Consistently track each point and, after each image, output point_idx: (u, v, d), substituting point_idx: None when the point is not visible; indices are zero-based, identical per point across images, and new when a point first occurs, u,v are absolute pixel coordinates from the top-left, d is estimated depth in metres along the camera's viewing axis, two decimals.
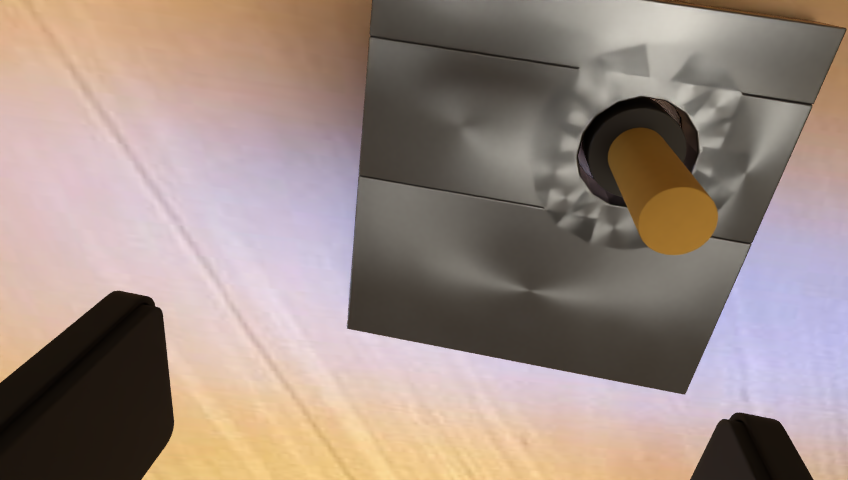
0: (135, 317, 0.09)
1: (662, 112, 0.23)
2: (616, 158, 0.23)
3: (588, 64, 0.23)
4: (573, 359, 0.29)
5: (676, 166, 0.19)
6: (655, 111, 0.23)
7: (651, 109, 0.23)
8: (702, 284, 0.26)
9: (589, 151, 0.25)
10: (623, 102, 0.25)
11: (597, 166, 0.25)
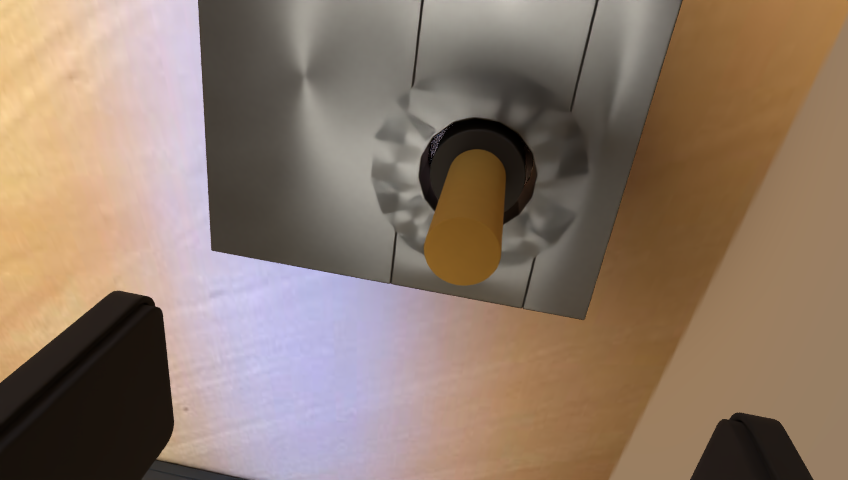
0: (135, 317, 0.09)
1: (519, 194, 0.24)
2: (484, 163, 0.22)
3: (573, 121, 0.22)
4: (223, 133, 0.25)
5: None
6: (521, 188, 0.24)
7: (523, 185, 0.24)
8: (342, 250, 0.26)
9: (479, 130, 0.23)
10: (523, 154, 0.24)
11: (463, 140, 0.23)
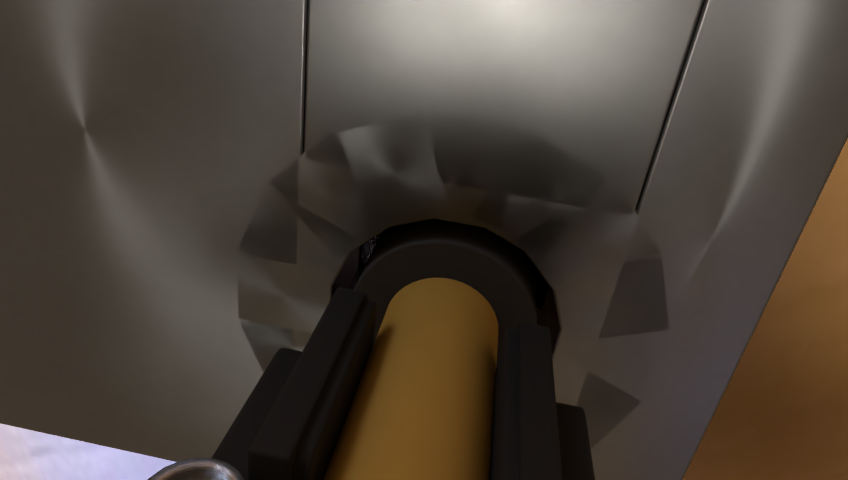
0: (365, 311, 0.10)
1: None
2: (450, 330, 0.10)
3: (642, 231, 0.10)
4: None
5: None
6: None
7: None
8: (203, 432, 0.15)
9: (445, 241, 0.11)
10: (533, 274, 0.13)
11: (412, 259, 0.11)
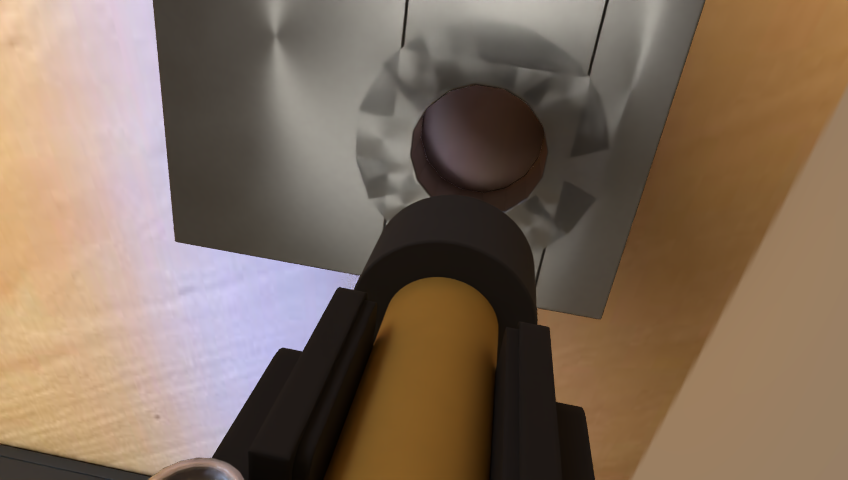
0: (365, 311, 0.10)
1: None
2: (450, 329, 0.10)
3: (592, 87, 0.19)
4: (183, 105, 0.21)
5: None
6: None
7: None
8: (323, 240, 0.23)
9: (445, 241, 0.11)
10: (533, 274, 0.13)
11: (412, 258, 0.11)
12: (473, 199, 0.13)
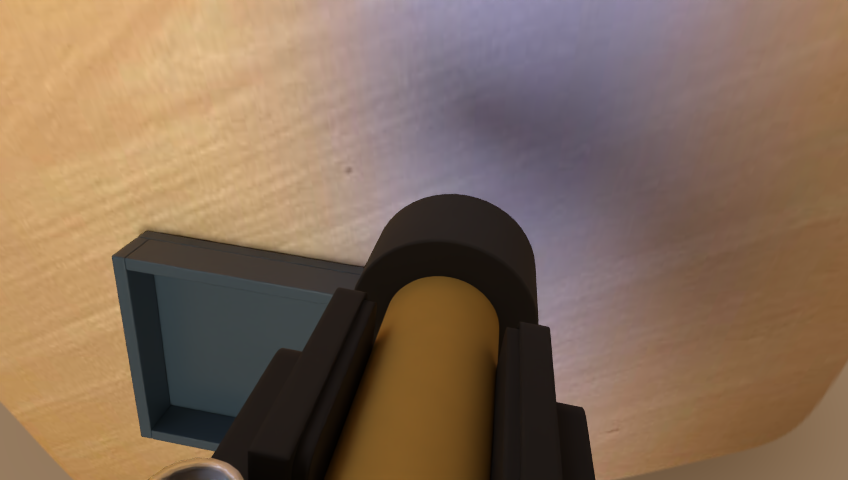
0: (365, 311, 0.10)
1: None
2: (451, 328, 0.10)
3: None
4: None
5: None
6: None
7: None
8: None
9: (445, 240, 0.11)
10: (534, 273, 0.13)
11: (413, 257, 0.11)
12: (474, 198, 0.13)
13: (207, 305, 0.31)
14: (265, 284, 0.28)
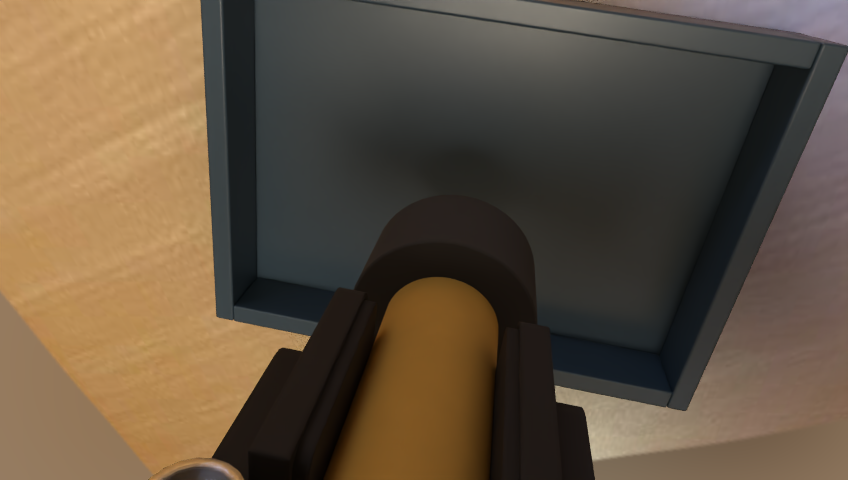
0: (365, 311, 0.10)
1: None
2: (449, 329, 0.10)
3: None
4: None
5: None
6: None
7: None
8: None
9: (445, 240, 0.11)
10: (533, 273, 0.13)
11: (412, 258, 0.11)
12: (473, 199, 0.13)
13: (340, 88, 0.19)
14: None
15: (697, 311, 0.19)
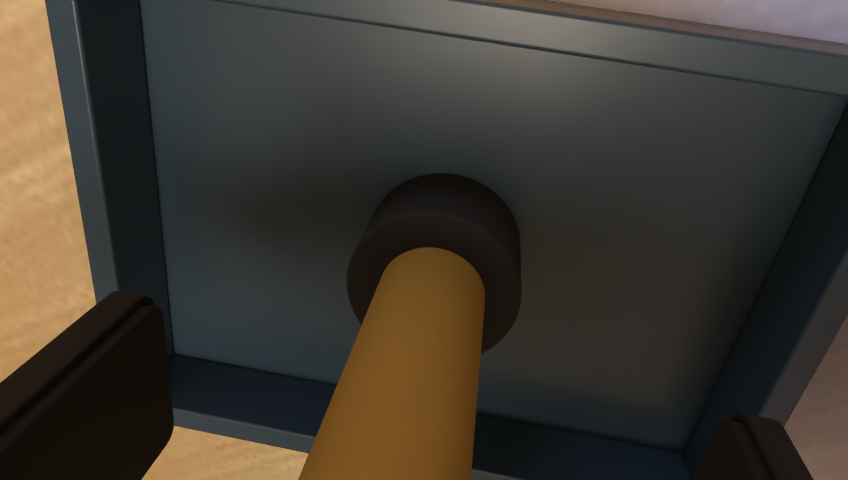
0: (135, 317, 0.09)
1: (511, 325, 0.13)
2: (439, 291, 0.11)
3: None
4: None
5: None
6: (514, 316, 0.13)
7: (518, 310, 0.13)
8: None
9: (434, 213, 0.12)
10: (518, 246, 0.14)
11: (404, 230, 0.12)
12: (462, 177, 0.14)
13: (262, 122, 0.14)
14: (442, 0, 0.10)
15: None
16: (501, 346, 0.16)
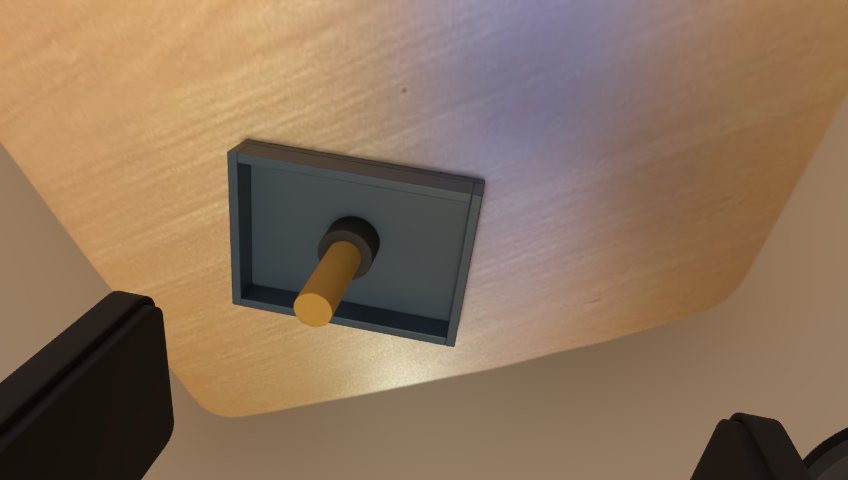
0: (135, 317, 0.09)
1: (370, 266, 0.40)
2: (341, 253, 0.38)
3: None
4: None
5: (341, 297, 0.36)
6: (371, 263, 0.40)
7: (371, 261, 0.40)
8: None
9: (343, 230, 0.39)
10: (375, 241, 0.41)
11: (334, 235, 0.39)
12: (357, 217, 0.41)
13: (290, 198, 0.41)
14: (341, 172, 0.38)
15: None
16: (377, 279, 0.43)
